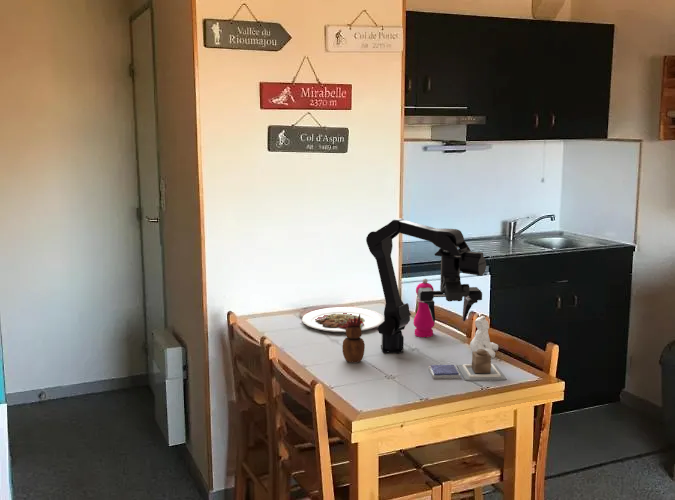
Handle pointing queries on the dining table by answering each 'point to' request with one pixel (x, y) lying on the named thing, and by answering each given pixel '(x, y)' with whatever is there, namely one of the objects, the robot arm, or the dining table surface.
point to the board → (471, 376)
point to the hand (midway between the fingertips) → (448, 321)
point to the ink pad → (444, 371)
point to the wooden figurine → (353, 342)
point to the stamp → (481, 362)
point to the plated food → (342, 318)
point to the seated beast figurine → (483, 337)
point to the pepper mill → (423, 315)
